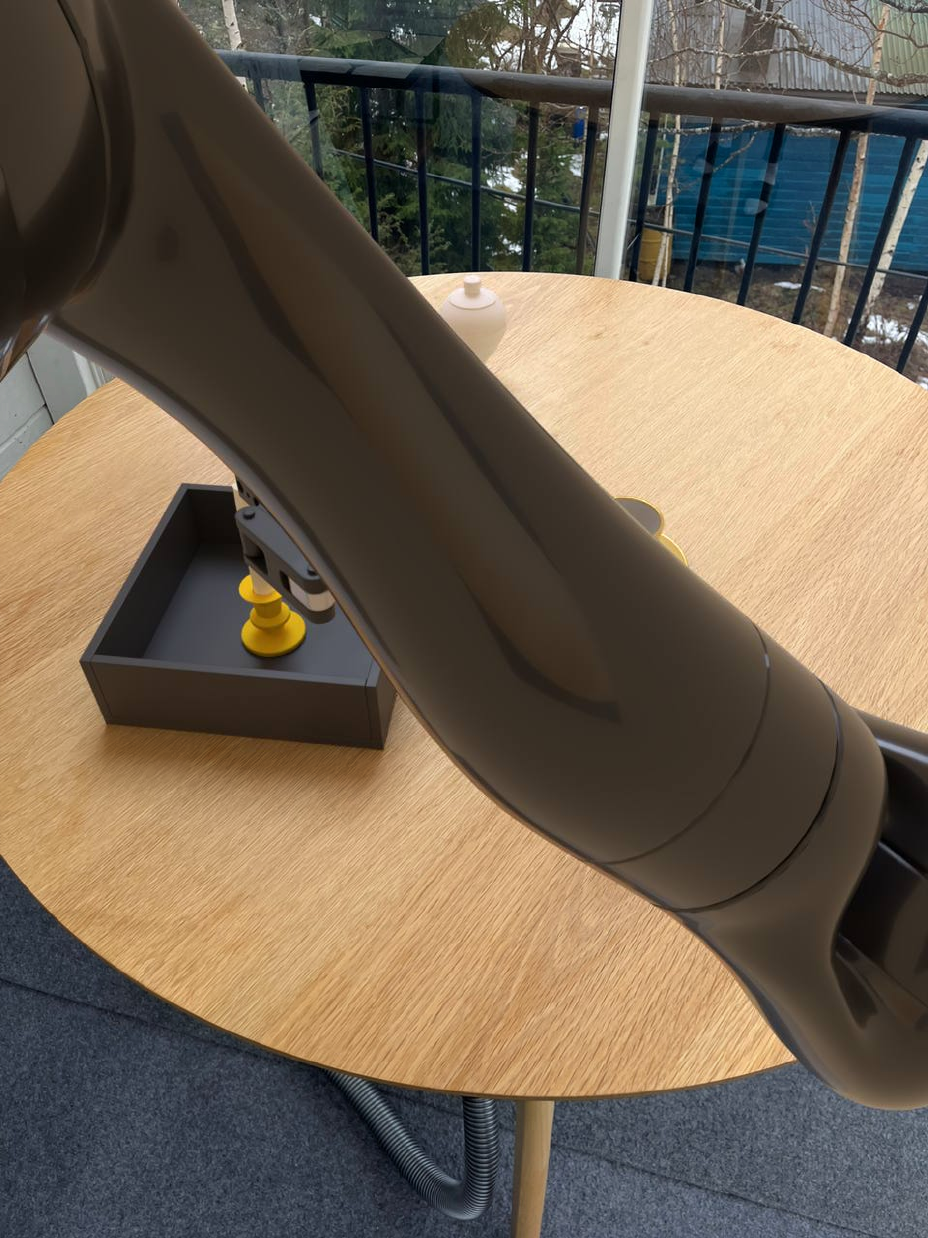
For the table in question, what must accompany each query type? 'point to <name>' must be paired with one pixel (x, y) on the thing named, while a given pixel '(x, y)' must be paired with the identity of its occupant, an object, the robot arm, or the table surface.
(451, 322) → the spinning top
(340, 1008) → the table surface
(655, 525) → the cup
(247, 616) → the bin
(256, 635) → the candle
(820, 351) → the table surface
